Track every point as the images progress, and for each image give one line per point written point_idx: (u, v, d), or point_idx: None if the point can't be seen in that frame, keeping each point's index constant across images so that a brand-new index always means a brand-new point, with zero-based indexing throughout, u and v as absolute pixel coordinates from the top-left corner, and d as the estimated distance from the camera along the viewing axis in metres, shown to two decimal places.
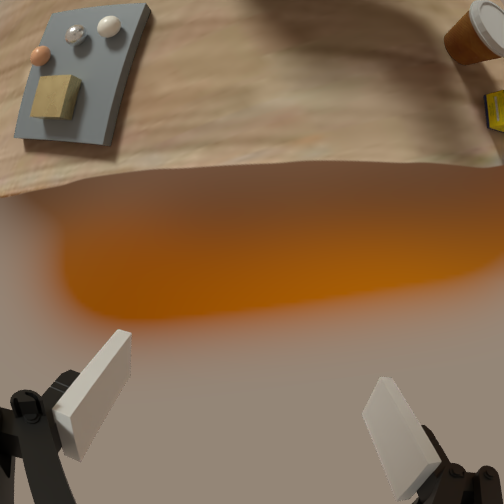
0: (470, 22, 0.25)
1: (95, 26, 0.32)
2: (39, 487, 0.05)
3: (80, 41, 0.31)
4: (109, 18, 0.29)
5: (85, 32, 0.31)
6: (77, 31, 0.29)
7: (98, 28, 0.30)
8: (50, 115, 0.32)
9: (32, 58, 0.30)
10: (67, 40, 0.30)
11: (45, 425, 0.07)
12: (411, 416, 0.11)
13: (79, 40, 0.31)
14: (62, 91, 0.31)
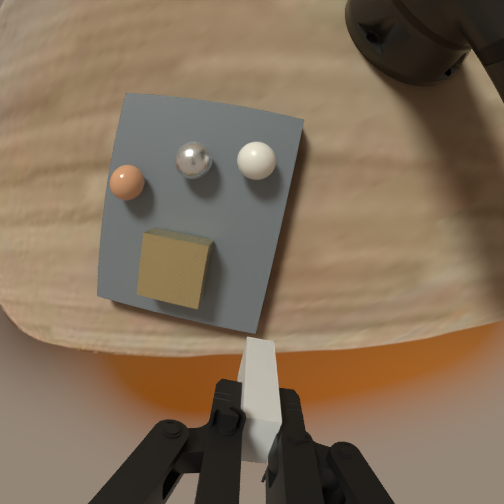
0: None
1: (220, 143, 0.28)
2: (208, 491, 0.07)
3: None
4: (263, 152, 0.25)
5: None
6: (202, 162, 0.26)
7: (244, 167, 0.26)
8: (178, 303, 0.28)
9: (116, 191, 0.26)
10: (183, 173, 0.26)
11: (238, 440, 0.09)
12: (272, 376, 0.13)
13: (204, 174, 0.27)
14: (195, 271, 0.27)
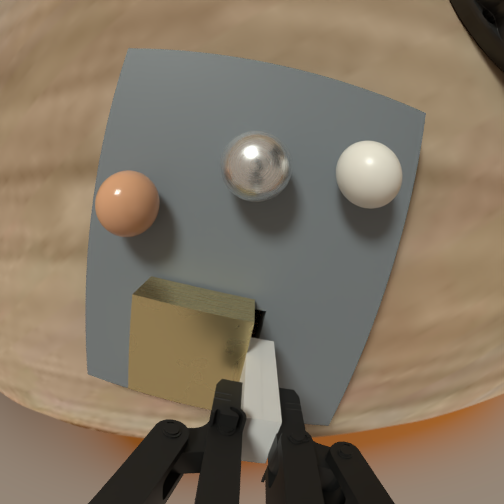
0: None
1: (298, 138, 0.16)
2: (208, 491, 0.07)
3: None
4: (391, 162, 0.13)
5: None
6: (280, 172, 0.13)
7: (357, 185, 0.13)
8: (199, 404, 0.16)
9: (108, 221, 0.14)
10: (240, 191, 0.14)
11: (238, 440, 0.09)
12: (272, 376, 0.13)
13: (277, 194, 0.15)
14: (229, 361, 0.15)
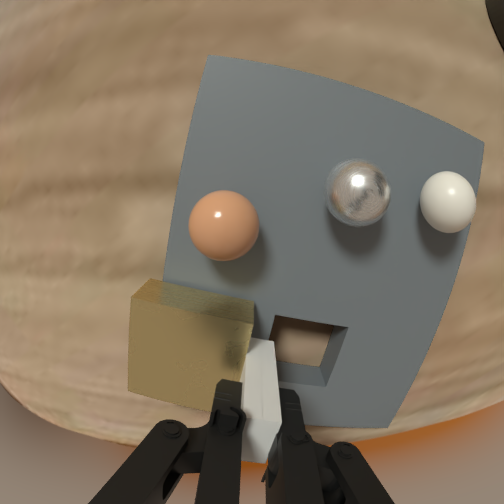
0: None
1: (385, 164, 0.16)
2: (208, 491, 0.07)
3: None
4: (471, 194, 0.13)
5: None
6: (386, 202, 0.13)
7: (445, 214, 0.14)
8: (199, 407, 0.16)
9: (210, 246, 0.14)
10: (349, 218, 0.14)
11: (238, 440, 0.09)
12: (272, 376, 0.13)
13: None
14: (228, 363, 0.15)
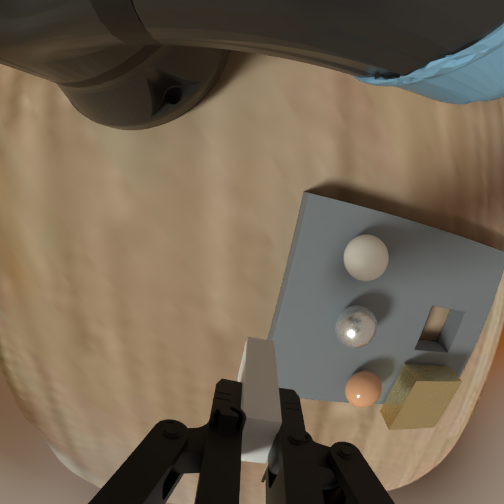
0: None
1: (334, 293, 0.24)
2: (208, 491, 0.07)
3: None
4: (366, 254, 0.20)
5: (359, 307, 0.23)
6: (366, 321, 0.22)
7: (378, 275, 0.21)
8: (452, 396, 0.23)
9: (374, 401, 0.23)
10: (372, 339, 0.22)
11: (238, 440, 0.09)
12: (272, 376, 0.13)
13: (374, 315, 0.23)
14: (432, 388, 0.23)
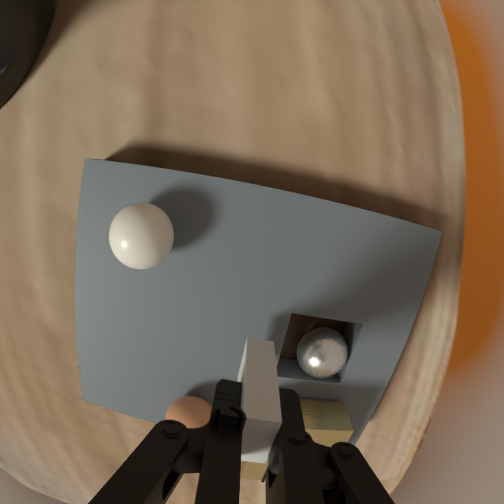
0: None
1: (128, 286, 0.18)
2: (208, 491, 0.07)
3: None
4: (118, 229, 0.14)
5: (324, 331, 0.19)
6: (342, 346, 0.18)
7: (146, 261, 0.14)
8: None
9: None
10: None
11: (238, 440, 0.09)
12: (272, 376, 0.13)
13: None
14: None
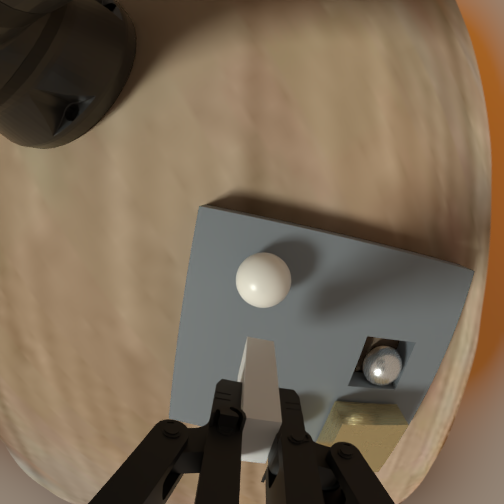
0: None
1: (236, 319, 0.22)
2: (208, 491, 0.07)
3: None
4: (253, 277, 0.18)
5: (386, 348, 0.23)
6: (399, 360, 0.22)
7: (274, 302, 0.18)
8: (397, 440, 0.20)
9: None
10: None
11: (238, 440, 0.09)
12: (272, 376, 0.13)
13: None
14: (367, 432, 0.20)
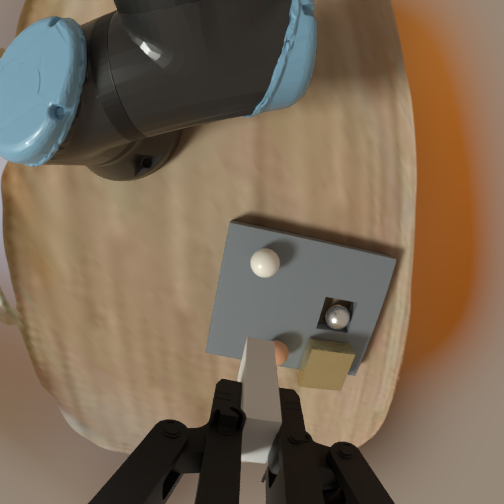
0: None
1: (249, 285, 0.39)
2: (208, 491, 0.07)
3: None
4: (260, 261, 0.35)
5: (338, 306, 0.40)
6: (347, 313, 0.40)
7: (270, 274, 0.36)
8: (349, 366, 0.38)
9: (282, 361, 0.38)
10: None
11: (238, 440, 0.09)
12: (272, 376, 0.13)
13: (346, 308, 0.41)
14: (328, 356, 0.38)
